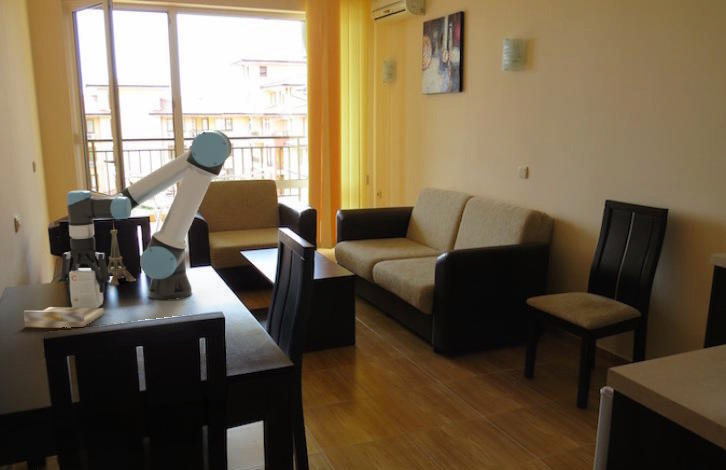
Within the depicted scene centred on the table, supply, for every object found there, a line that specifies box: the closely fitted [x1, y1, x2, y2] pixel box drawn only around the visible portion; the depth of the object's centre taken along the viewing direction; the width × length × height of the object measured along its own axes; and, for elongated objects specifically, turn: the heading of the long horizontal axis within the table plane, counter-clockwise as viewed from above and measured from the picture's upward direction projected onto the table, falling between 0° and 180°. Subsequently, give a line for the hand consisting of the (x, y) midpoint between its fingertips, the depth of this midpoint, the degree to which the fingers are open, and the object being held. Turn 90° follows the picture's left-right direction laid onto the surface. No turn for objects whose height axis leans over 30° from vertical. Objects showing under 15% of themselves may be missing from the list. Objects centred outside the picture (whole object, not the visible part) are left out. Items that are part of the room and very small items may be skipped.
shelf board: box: [23, 306, 105, 329], centre depth 183 cm, size 18×14×5 cm
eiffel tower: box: [107, 222, 137, 287], centre depth 230 cm, size 11×11×25 cm
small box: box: [68, 267, 104, 308], centre depth 196 cm, size 8×6×13 cm
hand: (87, 301), depth 197 cm, fingers closed on small box, 8 cm apart
